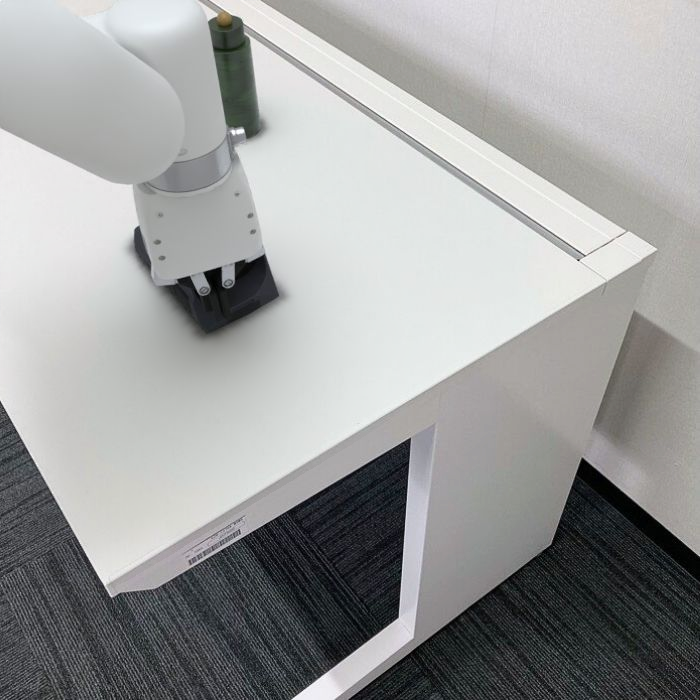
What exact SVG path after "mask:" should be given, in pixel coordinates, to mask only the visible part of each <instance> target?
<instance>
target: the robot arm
mask: <svg viewBox="0 0 700 700" xmlns="http://www.w3.org/2000/svg"><path fill="white" fill-rule="evenodd" d="M208 21H209V20H208V16H207V14H206V12H205V10H204V8H203V7H202V5H201V4H200V3H199V2H198V1H197V0H116V1H114V2H113V3H112V4H111V5H110V6H109V7H108V8H107V9H105V10H102V11H99V12H95V13H91V14H87V15H82V16H79V15H77V14H76V13H74V12H73V11H71V10H70V9H69V8H66V7H65V6H64V5H62V4H61V3H59V2H57V1H56V0H0V129H1V130H3V131H5V132H7V133H9V134H11V135H13V136H15V137H17V138H19V139H21V140H23V141H25V142H27V143H29V144H31V145H33V146H35V147H37V148H39V149H41V150H43V151H45V152H47V153H49V154H50V155H53V156H56V157H57V158H59V159H62V160H64V161H66V162H68V163H70V164H72V165H74V166H76V167H78V168H80V169H82V170H84V171H85V172H88V173H90V174H92V175H94V176H96V177H98V178H100V179H103V180H105V181H107V182H110V183H113V184H116V185H125V186H126V185H127V186H129V185H132V193H133V202H134V206H135V212H136V217H137V222H138V226H140V230H141V234H142V238H143V242H144V245H145V248H146V251H147V253H148V255H149V257H150V260H151V268H150V275H151V279H152V282H153V284H154V285H155V286H156V287H164V286H166V285H174V284H175V283H179V284H180V285H183V286H186V287H188V288H191V289H194V290H197V292H198V293H199V295H200V299H201V302H202V306H203V308H204V311H205V313H208V312H211V311H212V314H213V316H214V319H215V321H216V323H218V322H221V320H223V317H224V319H231V318H232V316H231V311H230V307H229V306H231V305H234V304H235V302H234V297H233V292H232V286H233V285H234V283H235V277H236V276H237V274H238V273H239V272H240V271H241V269H242V268H243V267H244V266H245V264H246V262H248V263H249V262H250V261H252V260H254V259H256V258H258V257H260V256H262V255H264V253H265V254H266V249H265V247H264V245H262V244H263V235H262V230H261V229H262V228H261V225H260V221H259V217H258V216H259V215H258V213H257V208H256V204H255V201H254V197H253V193H252V190H251V187H250V184H249V181H248V176H247V174H246V172H245V169H244V166H243V163H242V161H241V158H240V155H239V154H238V152H237V150H236V148H237V147H239V145H241V144H245V143H247V142H248V141H247V139H248V138H246V134H245V131H244V129H243V127H242V126H241V127H238V128H234V127H231V128H229V127H228V125H227V124H226V122H225V116H224V110H223V104H222V98H221V92H220V87H219V81H218V75H217V69H216V64H215V58H214V52H213V46H212V41H211V35H210V29H209V24H208ZM214 268H215V270H214V271H212V275H211V278H210V276H209V275H208V274H206V273H204V271H208V270H211V269H214ZM211 279H212V281H211ZM221 312H222V313H221ZM222 315H223V317H222Z"/></svg>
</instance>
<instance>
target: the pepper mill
mask: <svg viewBox="0 0 700 700" xmlns="http://www.w3.org/2000/svg"><path fill="white" fill-rule="evenodd" d="M208 24H209V29H210V35H211V41H212V46H213V52H214V58H215V64H216V69H217V75H218V81H219V87H220V92H221V98H222V104H223V110H224V116H225V122H226V124H227V125H228V127H229V128H231V127H234V128H238V127H241V126H242V127H243V129H244V131H245V134H246V139H249V138H251V137H254V136H255V135H257V134H258V133H259V132H260V131H261V127H262V123H261V116H260V107H259V99H258V92H257V83H256V75H255V66H254V59H253V52H252V51H253V50H252V43H251V39H250V37H249V36H248V35H247V34H246V33H245V26H244V21H243V19H242V17H239V16H237V15H232V14H230V13H229V12H227V11H219V13H218V14H217V15H216V16H214V17H212V18H210V19H209V20H208Z"/></svg>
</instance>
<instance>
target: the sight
mask: <svg viewBox="0 0 700 700" xmlns="http://www.w3.org/2000/svg"><path fill="white" fill-rule="evenodd" d="M133 245H134V249H135V251H136V253H137V254H138V255H139V256H140V257H141V258H142V260H143V261H144V262H145V263H146V265H148V266H149V268H150V269H151V260H150V257H149V255H148V253H147V251H146V248H145V245H144V242H143V238H142V234H141V230H140V226H139V225H137V226H136V227H135V228H134V230H133ZM262 245H263V243H262ZM263 246H264V245H263ZM214 270H215V268H214V269H211V270H208V271H204V273H206V274H208V275H209V276H210V278H211V275H212V271H214ZM211 281H212V279H211ZM165 286H166V288H167V289H168V290H169V291H170V292H171V294H172V295H173V296H174V297H175V298H176V299H177V300H178V302H179V303H180V304H181V305H182V306H183V307H184V308H185V310H186V311H187V312H188V314H190V316H191V317H192V318H193V319H194V320H195V321H196V322H197V324H198V325H199V326H200V327H201V328H202V329H203V331H204V332H205V333H206V334H208V333H209V334H210V332H211V333H212V332H213V331H215V330H217V329H220V328H222V327H224V326H226V325H228V324H231V323H233V322H235V321H237V320H239V319H242V318H243V317H245V316H248V315H249V314H250V313H251V314H252V313H253V312H254V311H256V310H258V309H259V308H261V307H263V306H265V305H266V304H268V303H270V302H272V301H273V300H275V299H277V298H278V297H280V294H279V291H278V288H277V285H276V282H275V279H274V276H273V272H272V270H271V266H270V263H269V260H268V257H267V254H266V252H265V253H264V255H262V256H260V257H258V258H256V259H254V260H252V261H250V262H249V263H248V262H246V264H245V266H244V267H243V268H242V269H241V271H240V272H239V273H238V274H237V276H236V277H235V283H234V285H233V286H232V292H233V297H234V302H235V304H234V305H231V306H229V307H230V311H231V316H232V318H231V319H224V317H223V315H222V317H223V320H221V322H218V323H216V321H215V319H214V316H213V314H212V311H211V312H208V313H205V311H204V308H203V306H202V302H201V299H200V295H199V293H198V292H197V290H194V289H191V288H188V287H186V286H183V285H180V284H179V283H175V284H174V285H165ZM221 313H222V312H221Z"/></svg>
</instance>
